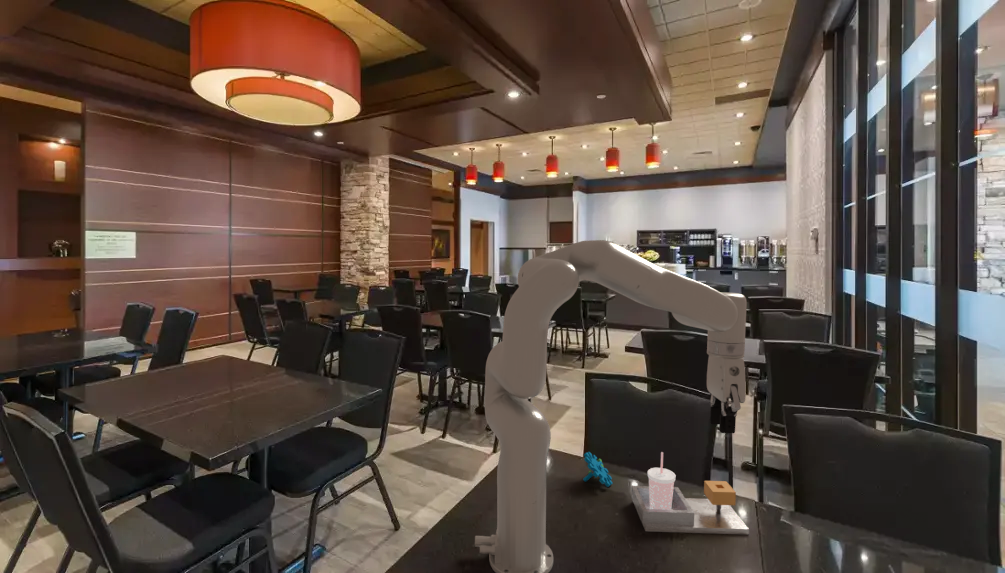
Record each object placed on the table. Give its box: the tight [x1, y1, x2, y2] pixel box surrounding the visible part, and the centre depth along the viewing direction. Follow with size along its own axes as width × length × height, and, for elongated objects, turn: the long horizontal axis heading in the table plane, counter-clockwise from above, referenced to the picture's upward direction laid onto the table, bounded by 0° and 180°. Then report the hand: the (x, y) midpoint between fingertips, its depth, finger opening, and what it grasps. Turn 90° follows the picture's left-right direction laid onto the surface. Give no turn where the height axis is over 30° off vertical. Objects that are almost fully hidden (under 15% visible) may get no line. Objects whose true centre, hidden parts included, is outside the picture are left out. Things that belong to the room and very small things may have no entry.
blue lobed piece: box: [582, 451, 614, 488], centre depth 123 cm, size 11×6×10 cm
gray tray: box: [630, 485, 750, 535], centre depth 107 cm, size 22×12×4 cm, turn 87°
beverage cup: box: [646, 451, 677, 510], centre depth 106 cm, size 6×6×14 cm
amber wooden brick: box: [703, 480, 737, 506], centre depth 106 cm, size 5×5×3 cm
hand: (722, 427), depth 105 cm, fingers open, 4 cm apart
